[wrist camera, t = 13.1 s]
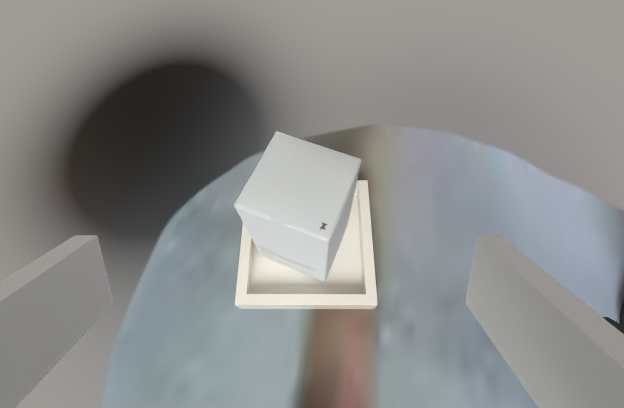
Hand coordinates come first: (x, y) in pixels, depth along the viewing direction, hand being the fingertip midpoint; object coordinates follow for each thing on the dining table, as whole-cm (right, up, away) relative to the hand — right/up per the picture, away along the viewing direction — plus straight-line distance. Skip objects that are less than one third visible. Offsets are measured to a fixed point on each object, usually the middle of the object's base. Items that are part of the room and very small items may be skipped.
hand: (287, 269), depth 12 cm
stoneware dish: (0, -3, +31) cm, 31 cm away
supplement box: (0, -2, +31) cm, 31 cm away
